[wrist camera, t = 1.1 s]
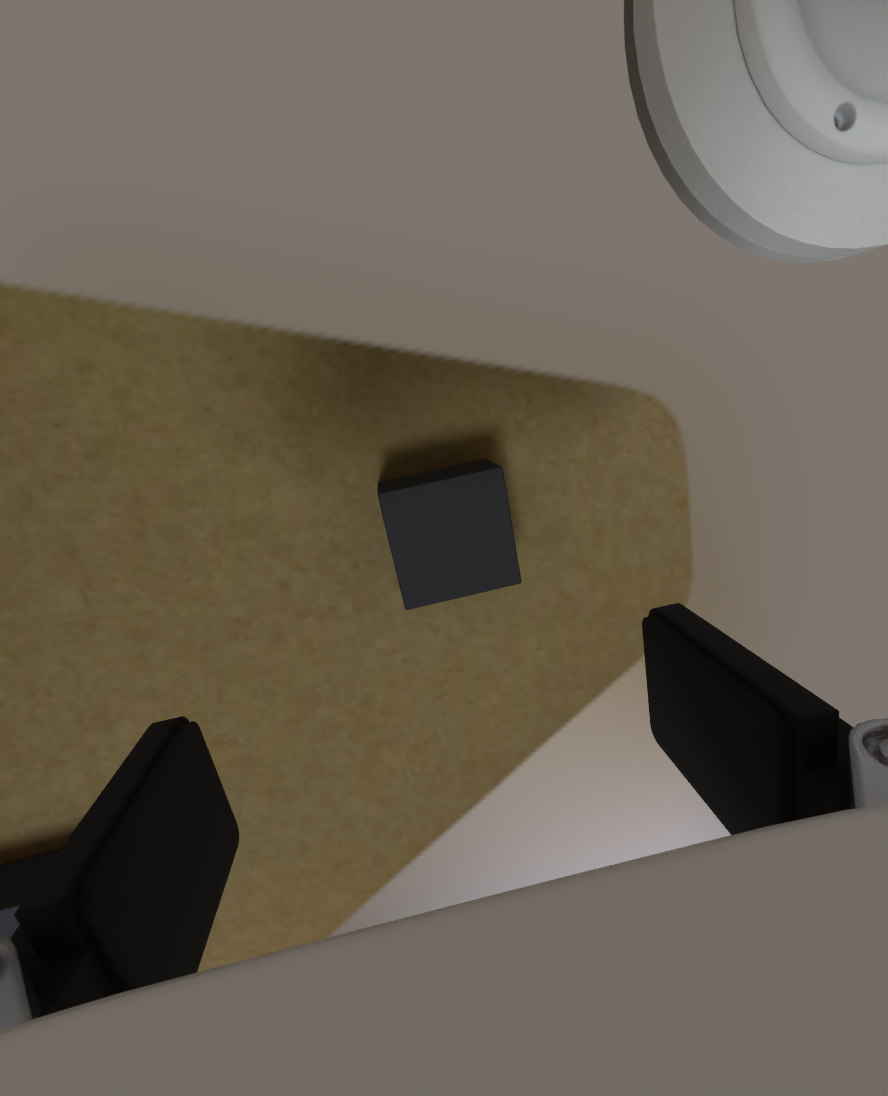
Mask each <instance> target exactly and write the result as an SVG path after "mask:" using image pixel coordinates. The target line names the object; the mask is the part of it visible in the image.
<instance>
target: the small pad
mask: <svg viewBox="0 0 888 1096" xmlns="http://www.w3.org/2000/svg"><path fill="white" fill-rule="evenodd" d="M378 499H379V503H380V507H381V511H382V515H383V519H384V523H385V528H386V532H387V536H388V540H389V544H390V548H391V552H392V557H393V561H394V565H395V569H396V573H397V577H398V581H399V586H400V590H401V594H402V598H403V602H404V606H405V609H406V610H409V609H413V608H418V607H422V606H426V605H430V604H435V603H439V602H443V601H447V600H452V599H456V598H460V597H465V596H469V595H473V594H477V593H482V592H486V591H490V590H494V589H499V588H503V587H507V586H511V585H516V584H520V583H521V576H520V570H519V564H518V558H517V552H516V546H515V540H514V534H513V528H512V522H511V516H510V510H509V504H508V498H507V492H506V486H505V480H504V474H503V468H502V467H501V466H499V465H497V464H495V463H493V462H491V461H489V460H487V459H485V460H480V461H476V462H471V463H466V464H462V465H457V466H453V467H448V468H444V469H439V470H434V471H430V472H425V473H421V474H416V475H412V476H407V477H402V478H398V479H393V480H389V481H384V482H380V483H378Z"/></svg>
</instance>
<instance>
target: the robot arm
mask: <svg viewBox="0 0 888 1096" xmlns="http://www.w3.org/2000/svg"><path fill="white" fill-rule="evenodd" d="M734 5H735V13H736V20H737V27H738V34H739V40H740V43H741V47H742V50H743V53H744V56H745V60H746V63H747V66H748V70H749V73H750V76H751V78H752V80H753V82H754V83H755V85H756V87H757V89H758V91H759V93H760V95H761V97H762V99H763V101H764V103H765V105H766V106H767V108H768V109H769V110H770V111H771V113H772V114H773V115H774V116H775V118H776V119H777V120H778V121H779V123H780V124H781V125H782V127H783V128H784V129H785V130H786V131H787V132H788V133H789V134H791V135H792V136H793V137H794V138H796V139H797V140H798V141H800V142H801V143H802V144H803V145H805V146H806V147H807V148H808V149H810V150H812V151H815V152H817V153H819V154H821V155H823V156H826V157H828V158H830V159H832V160H835V161H841V162H846V163H852V164H858V165H869V164H883V163H888V0H734ZM642 630H643V642H644V654H645V665H646V678H647V689H648V702H649V713H650V725H651V729H652V733H653V735H654V738H655V740H656V741H657V743H658V744H659V746H660V747H661V748H662V749H663V751H664V752H665V753H666V754H667V756H668V757H669V758H670V759H671V760H672V762H673V763H674V764H675V766H676V767H677V768H678V769H679V770H680V772H681V773H682V774H683V775H684V777H685V778H686V779H687V780H688V782H689V783H690V784H691V785H692V787H693V788H694V789H695V790H696V792H697V793H698V794H699V795H700V796H701V798H702V799H703V800H704V802H705V803H706V804H707V805H708V807H709V808H710V809H711V810H712V811H713V813H714V814H715V815H716V816H717V818H718V819H719V820H720V821H721V823H722V824H723V825H724V826H725V828H726V829H727V830H728V831H729V833H730V834H731V836H727V837H723V838H719V839H714V840H711V841H706V842H702V843H698V844H694V845H690V846H686V847H682V848H678V849H674V850H671V851H666V852H662V853H658V854H654V855H650V856H646V857H642V858H638V859H634V860H630V861H626V862H622V863H619V864H615V865H610V866H606V867H603V868H598V869H594V870H590V871H586V872H582V873H578V874H574V875H571V876H566V877H563V878H558V879H555V880H550V881H547V882H543V883H539V884H535V885H531V886H527V887H523V888H520V889H515V890H511V891H507V892H503V893H500V894H496V895H492V896H488V897H484V898H480V899H476V900H472V901H468V902H464V903H461V904H457V905H453V906H449V907H445V908H442V909H437V910H433V911H430V912H426V913H422V914H418V915H414V916H410V917H406V918H403V919H399V920H395V921H391V922H387V923H383V924H379V925H375V926H372V927H368V928H364V929H360V930H356V931H353V932H348V933H345V934H341V935H337V936H333V937H330V938H326V939H322V940H318V941H314V942H311V943H307V944H303V945H299V946H295V947H292V948H288V949H284V950H280V951H277V952H273V953H269V954H265V955H261V956H258V957H254V958H250V959H246V960H242V961H239V962H235V963H231V964H227V965H223V966H220V967H216V968H212V969H208V970H205V971H201V972H197V970H198V967H199V964H200V961H201V958H202V955H203V952H204V949H205V946H206V943H207V940H208V937H209V934H210V930H211V927H212V924H213V921H214V918H215V915H216V912H217V909H218V906H219V903H220V900H221V897H222V894H223V891H224V888H225V884H226V881H227V878H228V875H229V872H230V869H231V866H232V863H233V860H234V857H235V854H236V851H237V848H238V843H239V829H238V825H237V822H236V820H235V817H234V815H233V812H232V809H231V807H230V804H229V802H228V799H227V797H226V794H225V791H224V789H223V786H222V784H221V781H220V779H219V776H218V773H217V771H216V768H215V766H214V763H213V761H212V758H211V755H210V753H209V750H208V748H207V745H206V743H205V740H204V737H203V735H202V732H201V730H200V727H199V725H198V724H197V723H196V722H194V721H193V722H189V720H188V719H187V718H186V717H183V716H182V717H178V718H173V719H169V720H165V721H160V722H156V723H152V724H151V725H150V726H149V727H148V729H147V730H146V731H145V733H144V734H143V736H142V737H141V738H140V740H139V741H138V743H137V744H136V745H135V747H134V748H133V750H132V751H131V752H130V754H129V755H128V756H127V758H126V759H125V761H124V762H123V763H122V765H121V766H120V768H119V769H118V770H117V772H116V773H115V775H114V776H113V777H112V779H111V780H110V781H109V783H108V784H107V786H106V787H105V788H104V790H103V791H102V793H101V794H100V795H99V797H98V798H97V800H96V801H95V802H94V804H93V805H92V806H91V808H90V809H89V811H88V812H87V813H86V815H85V816H84V818H83V819H82V820H81V822H80V823H79V824H78V826H77V827H76V829H75V830H74V831H73V833H72V834H71V836H70V837H69V838H68V840H67V841H66V843H65V844H64V845H63V847H62V848H61V849H60V851H59V852H58V854H57V855H56V856H55V858H54V859H53V861H52V862H51V863H50V865H49V866H48V868H47V869H46V870H45V872H44V873H43V874H42V876H41V877H40V879H39V880H38V881H37V883H36V884H35V886H34V887H33V888H32V890H31V891H30V893H29V894H28V895H27V897H26V898H25V899H24V901H23V902H22V904H21V905H20V906H19V908H18V909H17V911H16V912H15V913H14V916H15V917H16V919H17V921H18V922H19V924H20V925H19V926H18V928H17V929H16V931H15V932H14V934H13V935H12V936H11V938H10V939H6V938H2V937H0V1096H888V719H887V718H886V719H874V720H869V721H865V722H862V723H859V724H857V725H856V726H855V727H854V728H853V727H852V726H850V725H849V724H848V723H846V722H845V721H843V720H842V719H840V718H839V711H838V710H837V709H835V708H834V707H832V706H831V705H829V704H828V703H826V702H825V701H823V700H822V699H820V698H819V697H817V696H816V695H814V694H813V693H812V692H810V691H808V690H807V689H805V688H804V687H803V686H801V685H800V684H798V683H797V682H795V681H794V680H792V679H791V678H789V677H788V676H786V675H785V674H783V673H782V672H780V671H779V670H777V669H776V668H775V667H773V666H772V665H770V664H769V663H767V662H766V661H764V660H763V659H761V658H760V657H758V656H757V655H755V654H754V653H752V652H751V651H749V650H748V649H747V648H745V647H744V646H742V645H741V644H739V643H738V642H736V641H735V640H733V639H732V638H730V637H729V636H727V635H726V634H724V633H723V632H722V631H720V630H718V629H717V628H716V627H714V626H713V625H711V624H710V623H708V622H707V621H705V620H704V619H702V618H701V617H699V616H698V615H696V614H695V613H693V612H692V611H690V610H689V609H687V608H686V607H685V606H683V605H682V604H679V603H676V604H671V605H667V606H662V607H658V608H654V609H651V610H650V611H649V617H645V618H644V619H643V621H642Z"/></svg>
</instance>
